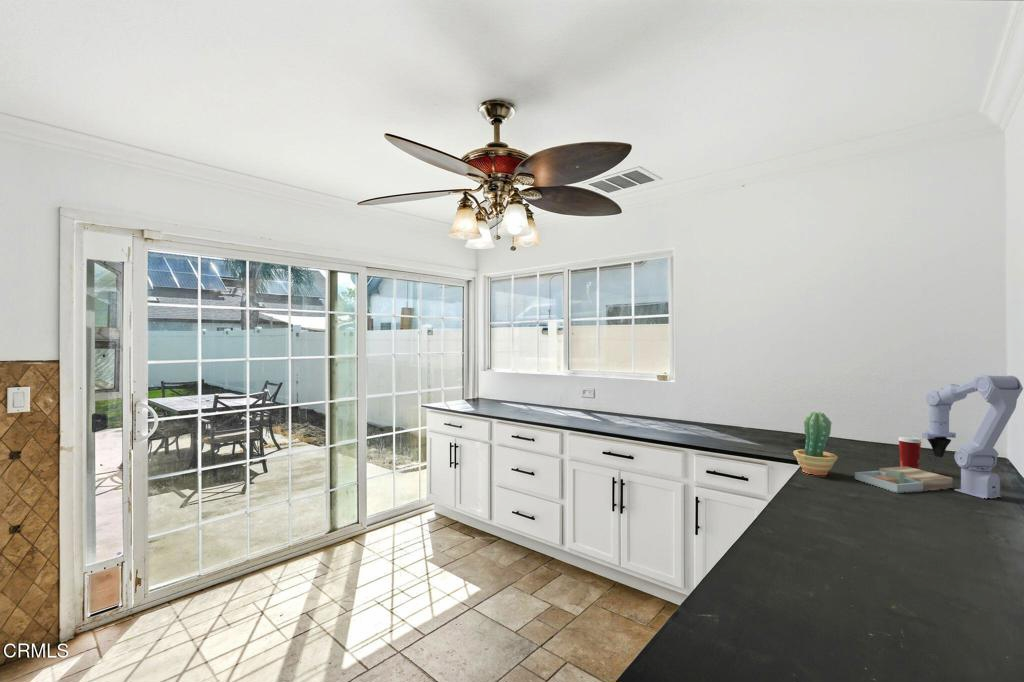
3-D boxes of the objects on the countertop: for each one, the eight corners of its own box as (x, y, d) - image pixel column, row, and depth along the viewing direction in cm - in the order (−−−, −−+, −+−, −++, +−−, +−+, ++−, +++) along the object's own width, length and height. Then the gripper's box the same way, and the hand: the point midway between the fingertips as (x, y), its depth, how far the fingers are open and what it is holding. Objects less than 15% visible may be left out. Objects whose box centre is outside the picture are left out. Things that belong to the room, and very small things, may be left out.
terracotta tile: (886, 479, 172) (886, 486, 172) (897, 479, 173) (897, 485, 173) (873, 475, 177) (873, 482, 177) (883, 475, 178) (883, 481, 178)
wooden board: (952, 488, 172) (952, 477, 172) (923, 491, 169) (923, 480, 169) (906, 476, 188) (906, 466, 188) (879, 478, 185) (879, 468, 185)
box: (923, 491, 169) (923, 482, 169) (897, 493, 166) (897, 484, 166) (879, 478, 185) (879, 470, 185) (854, 480, 182) (854, 472, 182)
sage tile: (904, 472, 174) (899, 472, 173) (904, 485, 174) (899, 485, 173) (890, 468, 179) (885, 468, 178) (890, 481, 179) (885, 481, 178)
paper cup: (926, 473, 192) (927, 439, 192) (907, 473, 192) (908, 439, 192) (910, 468, 200) (911, 435, 200) (892, 468, 200) (892, 435, 200)
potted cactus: (847, 479, 183) (847, 415, 183) (807, 478, 183) (808, 414, 183) (821, 468, 199) (822, 409, 199) (785, 467, 199) (785, 409, 199)
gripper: (941, 419, 188) (941, 453, 188) (913, 420, 185) (913, 454, 185) (962, 422, 181) (961, 457, 181) (933, 423, 178) (933, 459, 178)
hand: (938, 456), depth 183 cm, fingers closed
